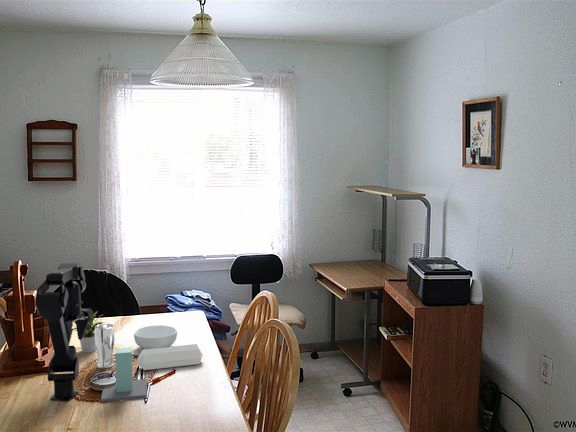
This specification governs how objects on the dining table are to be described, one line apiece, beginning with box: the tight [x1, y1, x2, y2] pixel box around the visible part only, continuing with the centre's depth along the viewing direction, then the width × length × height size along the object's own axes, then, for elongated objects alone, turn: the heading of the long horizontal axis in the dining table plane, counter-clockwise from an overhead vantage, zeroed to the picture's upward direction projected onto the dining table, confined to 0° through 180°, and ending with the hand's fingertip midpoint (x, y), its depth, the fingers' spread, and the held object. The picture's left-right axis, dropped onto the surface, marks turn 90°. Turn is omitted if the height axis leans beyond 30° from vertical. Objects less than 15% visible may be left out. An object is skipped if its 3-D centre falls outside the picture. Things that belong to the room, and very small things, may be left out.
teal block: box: [114, 347, 134, 392], centre depth 195 cm, size 5×5×13 cm
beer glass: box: [94, 323, 115, 369], centre depth 219 cm, size 7×7×15 cm
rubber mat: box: [100, 378, 148, 403], centre depth 195 cm, size 14×14×1 cm
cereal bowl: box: [133, 324, 178, 350], centre depth 239 cm, size 17×17×7 cm
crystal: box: [136, 343, 203, 371], centre depth 220 cm, size 7×7×24 cm
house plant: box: [72, 311, 104, 353], centre depth 235 cm, size 14×14×16 cm
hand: (73, 343), depth 204 cm, fingers open, 9 cm apart
